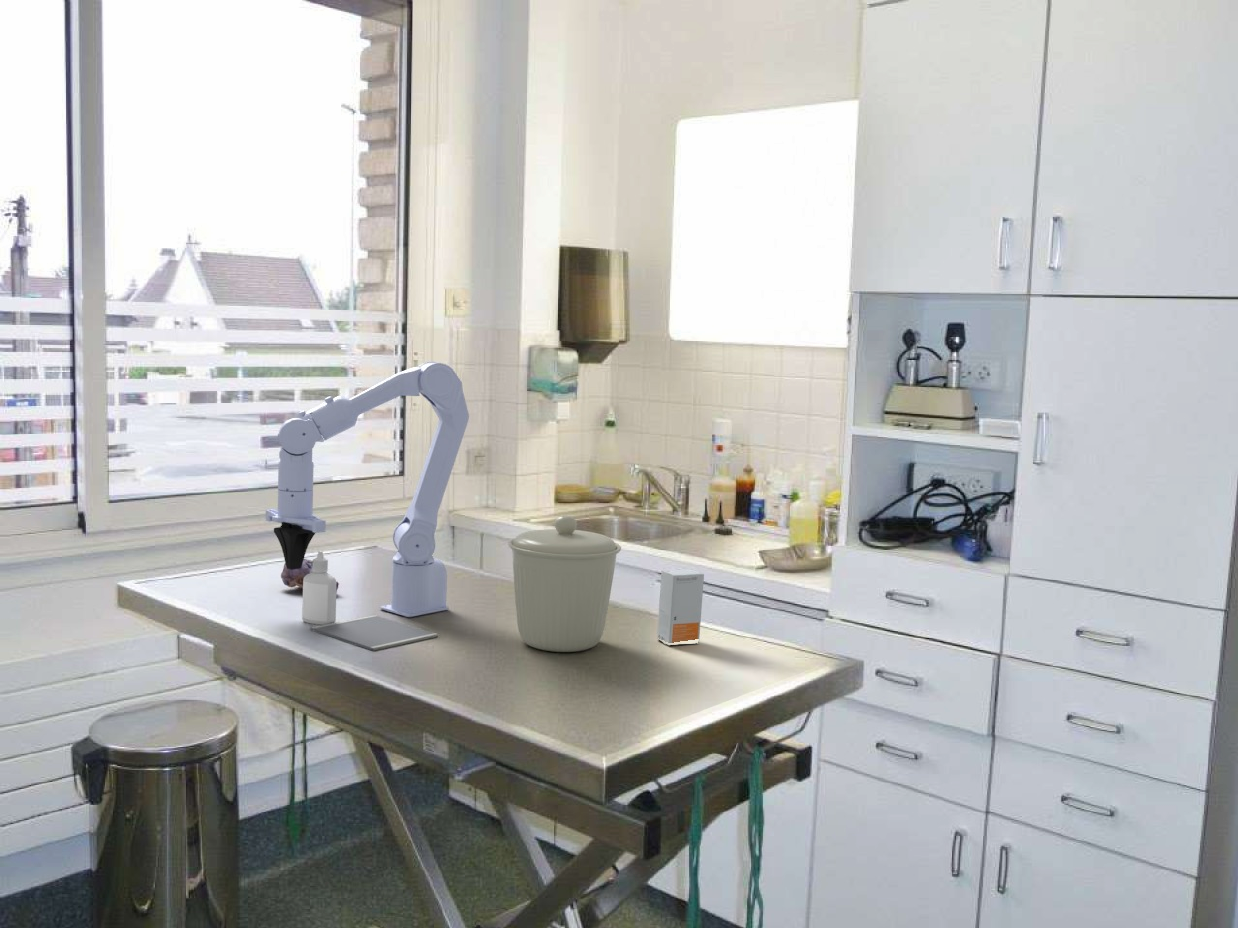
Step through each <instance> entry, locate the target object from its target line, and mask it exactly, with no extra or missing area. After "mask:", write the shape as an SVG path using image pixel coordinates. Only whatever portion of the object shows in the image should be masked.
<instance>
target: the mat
mask: <svg viewBox="0 0 1238 928" xmlns="http://www.w3.org/2000/svg"><path fill="white" fill-rule="evenodd" d="M310 631H311V632H312V631H313V632H315V633H319V634H321V635H325V636H327V637H331V638H333V639H336V640H339V641H342V642H345V643H349V644H352V645H353V646H354V645H355V646H358V647H361V648H364V649H366V650H369V651H373V652H375V651H379V650H384V649H388V648H389V649H390V648H393V647H397V646H402V645H407V644H411V643H415V642H420V641H423V640H424V641H425V640H428V639H434V638H437V637H438V633H435V632H432V631H428V630H426V629H425V630H424V629H423V628H419V627H415V626H411V625H409V624H405V623H403V622H399V621H395V620H391V619H388V618H384V617H382V616H379V615H376V614H375V615H370V616H365V617H359V618H353V619H349V620H344V621H339V622H338V621H337V622H334V623H332V624H327V625H317V626H312V627H310Z"/></svg>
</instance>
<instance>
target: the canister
mask: <svg viewBox="0 0 1238 928" xmlns="http://www.w3.org/2000/svg"><path fill="white" fill-rule="evenodd" d="M577 526H578V522H577V520H576V518H574V517H573V516H571V515H560V516H558V517H557V518H556V519H555V521H554V528H549V529H548V528H547V529H545V528H543V529H537V530H535V529H534V530H530V531H525V532H523V533H520V534H518V535H517V536H516V537H514V538H512V539H510V540H509V541H508V543H507V545H508V548H510V549H511V555H512V572H513V586H514V587H513V588H514V599H515V612H516V613H515V614H516V620H517V622H516V623H517V629H518V634H519V636H520V637H521V639H522V641H523V642H524V643H525V644H526V645H527V646H529V647H532V648H534V649H537V650H542V651H547V652H552V653H553V652H554V653H555V652H556V653H573V652H574V653H575V652H582V651H585V650H586V651H587V650H589V649H591V648H593V647H595V646H596V645H597V644H598V643H599V642H600V640H601V639H602V637H603V634H604V630H605V626H606V621H607V614H608V610H609V604H610V599H611V592H612V585H613V582H614V581H613V579H614V573H615V567H616V561H617V554H618V553H620V552H621V551H622V546H621V545H620V544H619V543H617V542H616V541H614V540H613V539H612V538H611V537H609V536H607V535H604V534H601V533H597V532H592V531H587V530H580V529H579V530H578V529H577Z"/></svg>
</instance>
